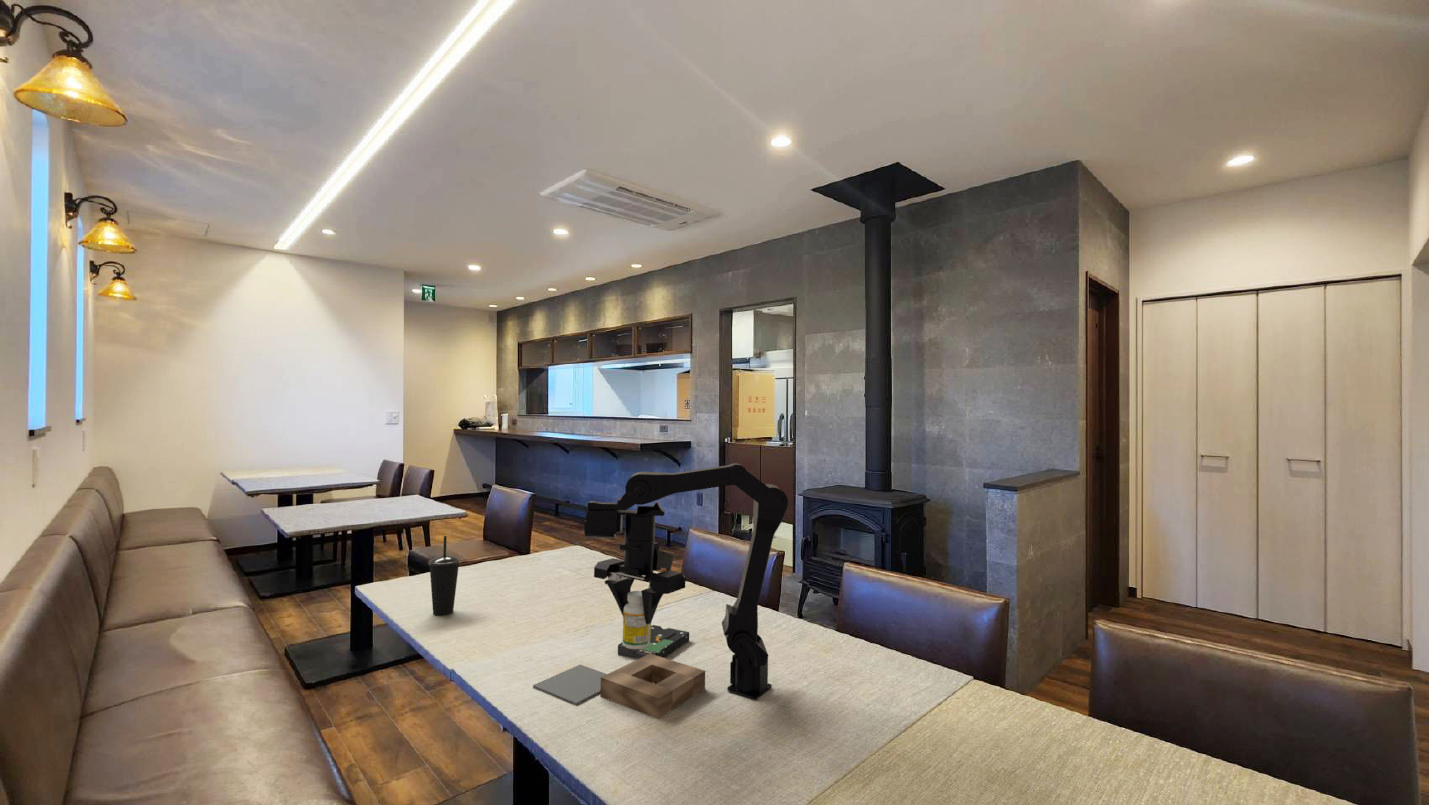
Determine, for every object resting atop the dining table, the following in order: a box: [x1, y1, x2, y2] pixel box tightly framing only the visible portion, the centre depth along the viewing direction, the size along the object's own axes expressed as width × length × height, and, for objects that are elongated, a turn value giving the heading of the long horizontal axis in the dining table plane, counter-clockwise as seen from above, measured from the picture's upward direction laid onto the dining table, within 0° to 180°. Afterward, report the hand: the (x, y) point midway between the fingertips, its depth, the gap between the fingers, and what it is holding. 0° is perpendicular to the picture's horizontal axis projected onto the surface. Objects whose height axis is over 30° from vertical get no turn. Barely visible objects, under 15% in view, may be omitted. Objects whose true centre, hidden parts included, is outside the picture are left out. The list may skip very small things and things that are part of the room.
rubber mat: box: [532, 664, 608, 706], centre depth 115 cm, size 12×12×1 cm
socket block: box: [599, 654, 706, 720], centre depth 112 cm, size 14×14×4 cm
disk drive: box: [617, 624, 690, 660], centre depth 134 cm, size 10×3×15 cm
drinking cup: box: [428, 535, 461, 617], centre depth 156 cm, size 8×8×20 cm
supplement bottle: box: [622, 590, 652, 649], centre depth 113 cm, size 5×5×10 cm
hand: (637, 620), depth 113 cm, fingers closed on supplement bottle, 5 cm apart
